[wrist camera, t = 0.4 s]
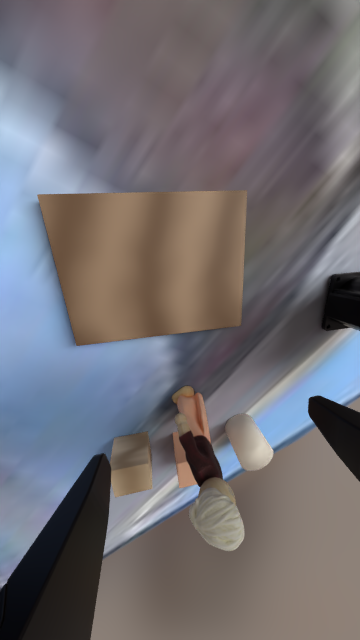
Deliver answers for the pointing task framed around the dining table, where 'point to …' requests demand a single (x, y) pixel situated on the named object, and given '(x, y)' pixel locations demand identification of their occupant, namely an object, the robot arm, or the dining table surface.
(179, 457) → the terracotta block
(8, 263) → the dining table surface
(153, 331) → the walnut board
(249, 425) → the off-white cylinder
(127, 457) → the beech block
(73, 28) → the dining table surface
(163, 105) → the dining table surface
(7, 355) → the dining table surface
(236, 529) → the grandmother figurine
